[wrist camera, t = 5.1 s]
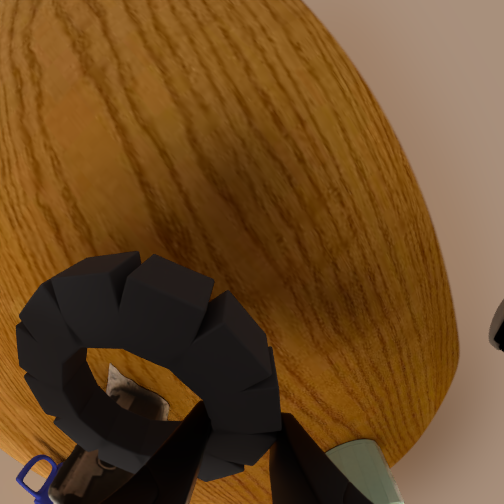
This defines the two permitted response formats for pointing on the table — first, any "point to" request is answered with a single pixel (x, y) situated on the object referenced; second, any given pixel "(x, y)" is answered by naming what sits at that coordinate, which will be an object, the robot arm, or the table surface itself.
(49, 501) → the mug
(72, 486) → the radio
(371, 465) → the cup
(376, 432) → the table surface
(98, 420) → the ring
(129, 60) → the table surface
